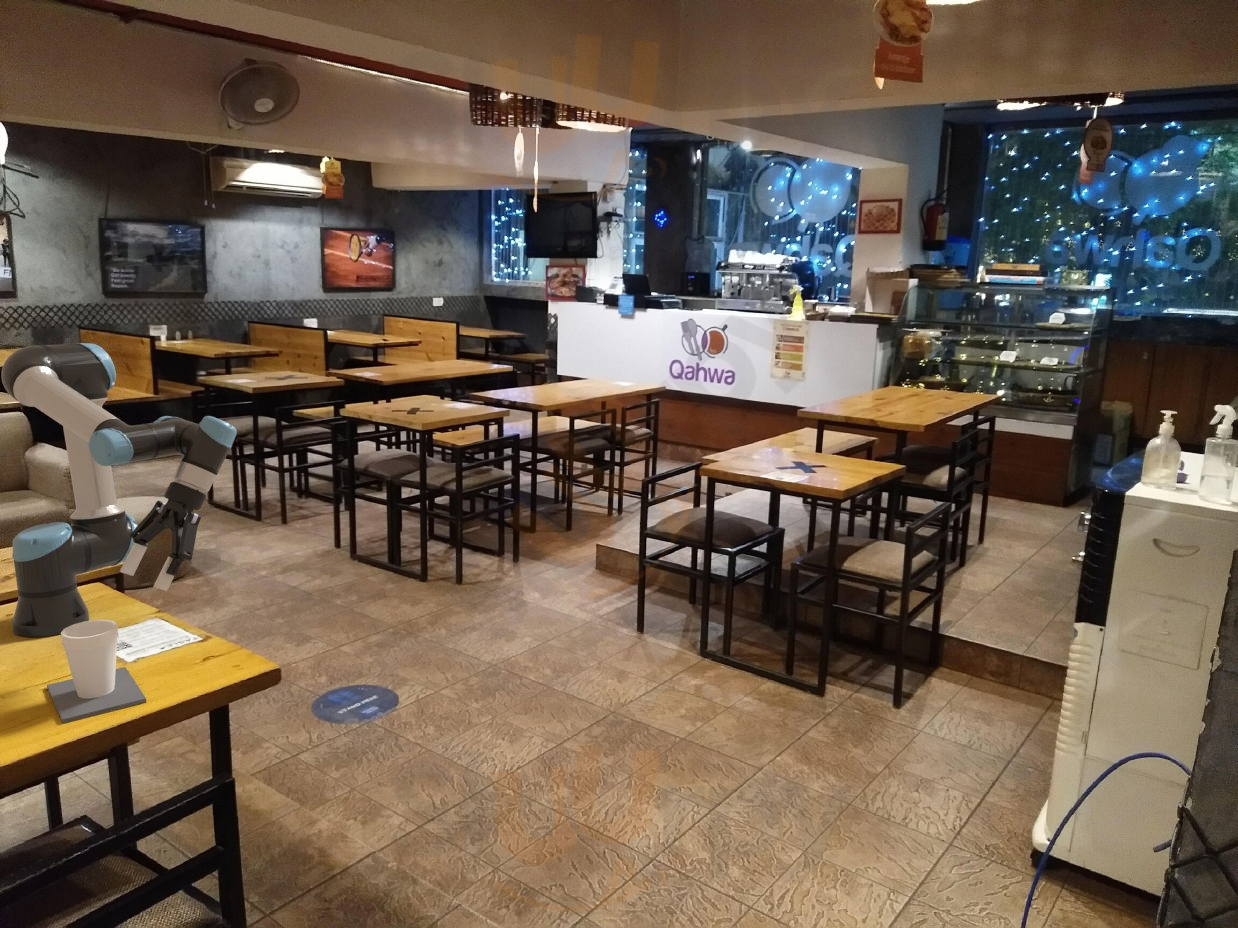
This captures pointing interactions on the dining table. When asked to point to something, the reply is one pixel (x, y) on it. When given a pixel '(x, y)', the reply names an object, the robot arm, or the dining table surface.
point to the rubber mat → (79, 708)
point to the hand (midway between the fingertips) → (142, 581)
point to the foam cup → (92, 656)
